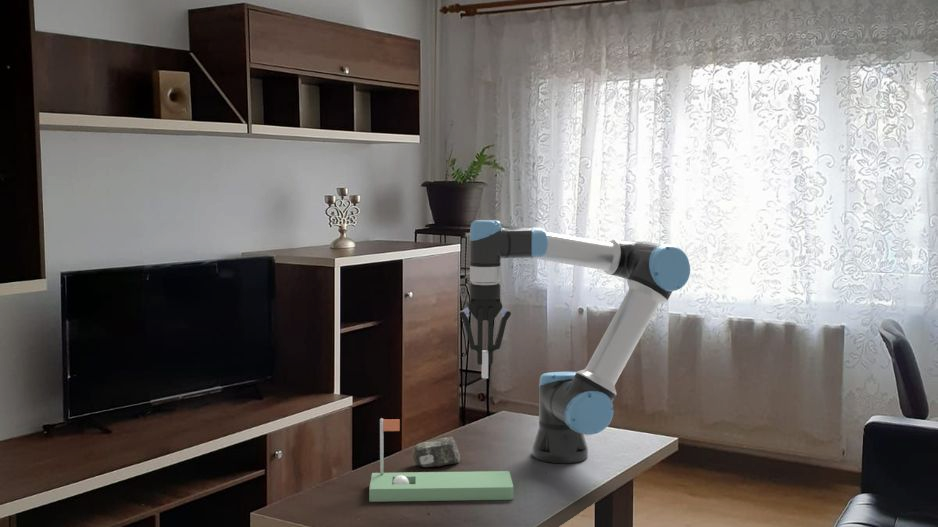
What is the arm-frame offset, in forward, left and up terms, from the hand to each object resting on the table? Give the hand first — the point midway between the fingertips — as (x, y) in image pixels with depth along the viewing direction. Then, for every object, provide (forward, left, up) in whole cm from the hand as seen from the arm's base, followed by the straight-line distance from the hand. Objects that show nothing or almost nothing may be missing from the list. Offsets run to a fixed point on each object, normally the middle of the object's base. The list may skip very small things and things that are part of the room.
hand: (484, 377), depth 231 cm
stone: (+11, -14, -27) cm, 32 cm away
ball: (+21, +8, -24) cm, 33 cm away
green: (+11, +8, -26) cm, 30 cm away
